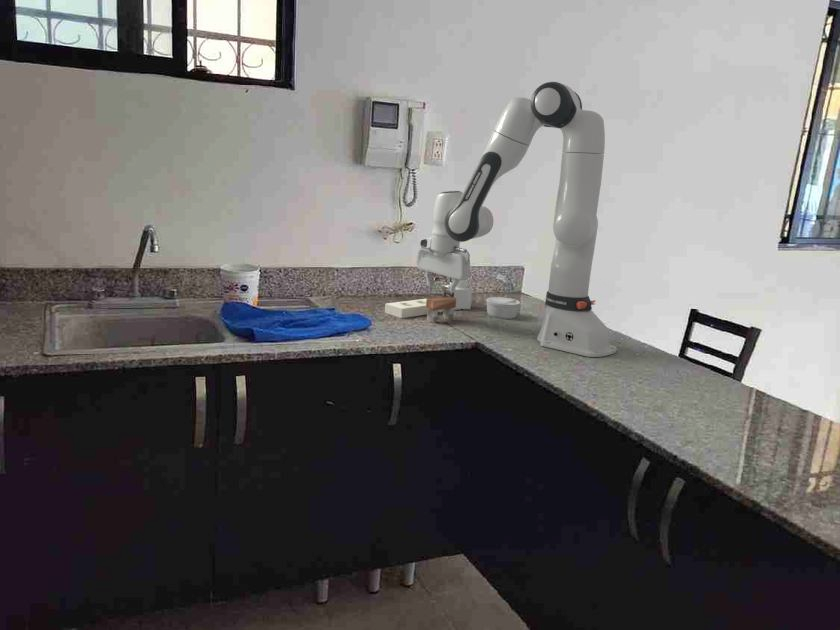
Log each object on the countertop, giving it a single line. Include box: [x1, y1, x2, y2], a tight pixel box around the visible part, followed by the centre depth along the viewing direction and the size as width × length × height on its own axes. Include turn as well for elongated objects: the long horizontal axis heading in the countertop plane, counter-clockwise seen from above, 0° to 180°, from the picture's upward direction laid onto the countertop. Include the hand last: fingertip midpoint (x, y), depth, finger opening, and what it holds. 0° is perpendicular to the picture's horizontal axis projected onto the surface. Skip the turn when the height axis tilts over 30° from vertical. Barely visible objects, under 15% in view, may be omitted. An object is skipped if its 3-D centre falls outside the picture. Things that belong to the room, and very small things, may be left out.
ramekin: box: [486, 296, 521, 320], centre depth 220 cm, size 11×11×5 cm
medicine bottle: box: [443, 277, 473, 311], centre depth 227 cm, size 7×7×12 cm
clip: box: [426, 296, 456, 324], centre depth 207 cm, size 3×10×7 cm, turn 133°
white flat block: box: [384, 298, 443, 319], centre depth 216 cm, size 8×18×3 cm, turn 133°
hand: (440, 288), depth 205 cm, fingers open, 8 cm apart
